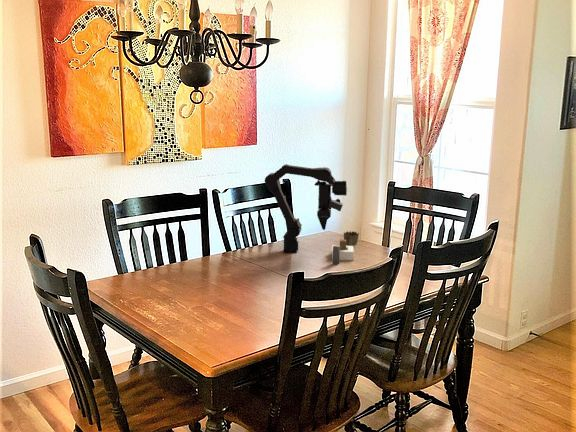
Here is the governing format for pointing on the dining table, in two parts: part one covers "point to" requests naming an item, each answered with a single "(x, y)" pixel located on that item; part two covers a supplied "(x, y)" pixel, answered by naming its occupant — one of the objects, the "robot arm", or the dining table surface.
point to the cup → (351, 238)
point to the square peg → (342, 244)
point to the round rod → (336, 255)
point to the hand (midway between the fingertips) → (324, 227)
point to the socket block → (346, 253)
